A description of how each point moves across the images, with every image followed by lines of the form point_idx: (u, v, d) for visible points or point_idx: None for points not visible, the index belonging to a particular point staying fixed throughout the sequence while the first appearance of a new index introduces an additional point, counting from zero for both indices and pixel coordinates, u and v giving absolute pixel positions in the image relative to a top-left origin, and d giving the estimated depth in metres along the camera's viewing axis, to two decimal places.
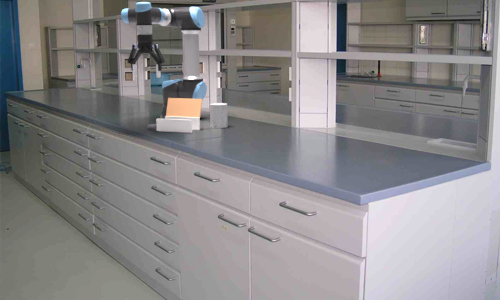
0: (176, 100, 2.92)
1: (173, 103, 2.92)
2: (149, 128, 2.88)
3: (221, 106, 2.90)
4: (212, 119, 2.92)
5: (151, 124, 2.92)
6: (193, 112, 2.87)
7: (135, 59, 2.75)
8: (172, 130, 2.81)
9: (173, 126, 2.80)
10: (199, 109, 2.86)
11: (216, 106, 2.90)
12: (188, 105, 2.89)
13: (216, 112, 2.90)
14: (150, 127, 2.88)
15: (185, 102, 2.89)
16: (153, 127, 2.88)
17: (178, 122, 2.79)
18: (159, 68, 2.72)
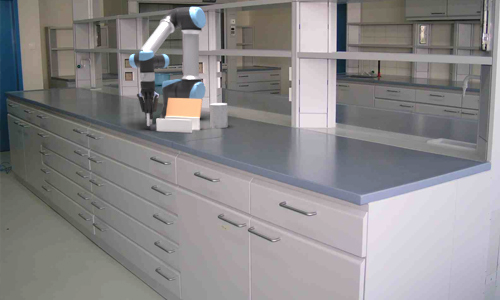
0: (176, 100, 2.92)
1: (173, 103, 2.92)
2: (152, 128, 2.87)
3: (221, 106, 2.90)
4: (212, 119, 2.92)
5: (153, 124, 2.91)
6: (193, 112, 2.87)
7: (146, 106, 2.88)
8: (172, 130, 2.81)
9: (173, 126, 2.80)
10: (199, 109, 2.86)
11: (216, 106, 2.90)
12: (188, 105, 2.89)
13: (216, 112, 2.90)
14: (153, 127, 2.87)
15: (185, 102, 2.89)
16: None
17: (178, 122, 2.79)
18: (151, 117, 2.89)
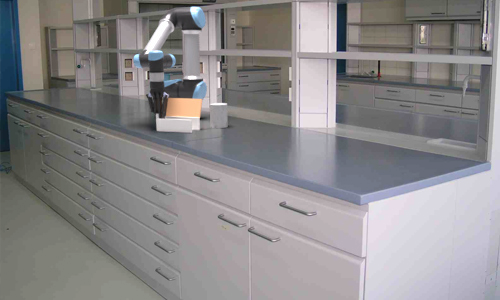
0: (176, 100, 2.92)
1: (173, 103, 2.92)
2: None
3: (221, 106, 2.90)
4: (212, 119, 2.92)
5: None
6: (193, 112, 2.87)
7: (155, 107, 2.86)
8: (172, 130, 2.81)
9: (173, 126, 2.80)
10: (199, 109, 2.86)
11: (216, 106, 2.90)
12: (188, 105, 2.89)
13: (216, 112, 2.90)
14: None
15: (185, 102, 2.89)
16: None
17: (178, 122, 2.79)
18: (160, 117, 2.87)
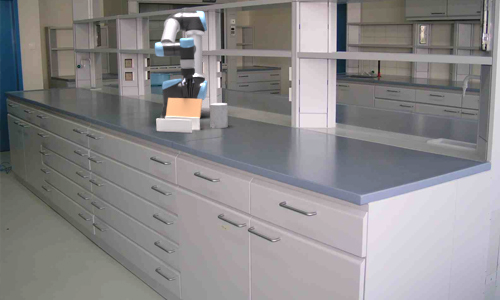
0: (176, 100, 2.91)
1: (173, 103, 2.92)
2: None
3: (221, 106, 2.90)
4: (212, 119, 2.92)
5: None
6: (193, 112, 2.87)
7: None
8: (172, 130, 2.81)
9: (173, 126, 2.80)
10: (199, 109, 2.86)
11: (216, 106, 2.90)
12: (188, 105, 2.89)
13: (216, 112, 2.90)
14: None
15: (185, 102, 2.89)
16: None
17: (178, 122, 2.79)
18: None
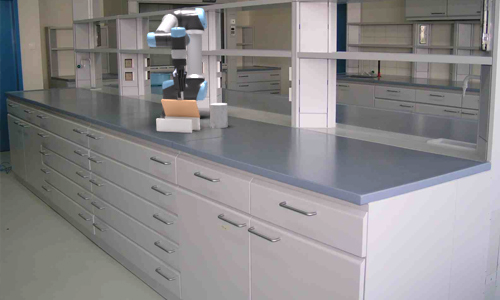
0: (170, 102, 2.85)
1: (168, 105, 2.87)
2: None
3: (221, 106, 2.90)
4: (212, 119, 2.92)
5: None
6: (191, 113, 2.85)
7: None
8: (172, 130, 2.81)
9: (173, 126, 2.80)
10: (196, 110, 2.83)
11: (216, 106, 2.90)
12: (184, 106, 2.84)
13: (216, 112, 2.90)
14: None
15: (180, 104, 2.84)
16: None
17: (178, 122, 2.79)
18: None
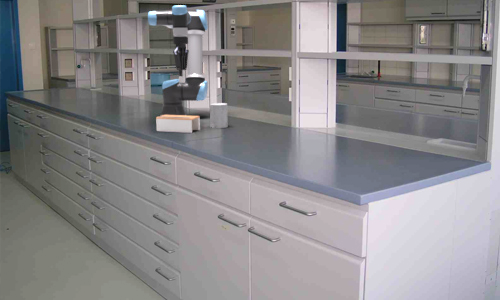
0: (166, 118, 2.82)
1: None
2: None
3: (221, 106, 2.90)
4: (212, 119, 2.92)
5: None
6: (190, 117, 2.84)
7: None
8: (172, 130, 2.81)
9: (173, 126, 2.80)
10: (194, 118, 2.81)
11: (216, 106, 2.90)
12: None
13: (216, 112, 2.90)
14: None
15: None
16: None
17: (178, 122, 2.79)
18: None
